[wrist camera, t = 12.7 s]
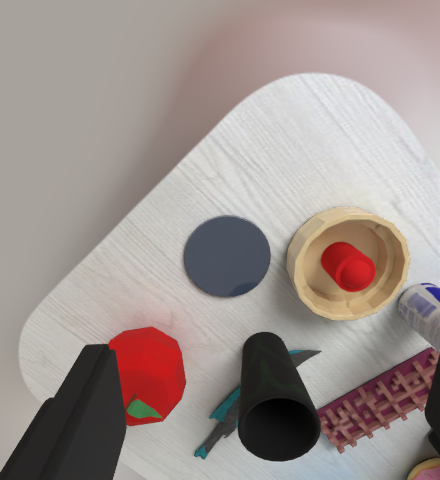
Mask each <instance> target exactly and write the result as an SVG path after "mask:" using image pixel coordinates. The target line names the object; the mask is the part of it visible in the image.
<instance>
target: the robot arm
mask: <svg viewBox="0 0 440 480" xmlns="http://www.w3.org/2000/svg"><path fill="white" fill-rule="evenodd" d="M425 417H426V420H427V422H428V424H429V425H430V427H431V428H432V429H433V431H434V432H435V433H436V435H437V436H438V437H439V439H440V354H439V358H438V362H437V365H436V369H435V373H434V377H433V380H432V384H431V388H430V391H429V395H428V399H427V403H426V406H425ZM126 426H127V422H126V414H125V408H124V401H123V395H122V388H121V382H120V375H119V369H118V362H117V356H116V351H115V350H114V349H110V348H109V346H108V345H107V344H93V345H86V346H85V347H84V348H83V349H82V351H81V353H80V354H79V356H78V358H77V360H76V361H75V363H74V365H73V366H72V368H71V370H70V371H69V373H68V375H67V376H66V378H65V380H64V381H63V383H62V385H61V387H60V388H59V390H58V392H57V393H56V395H55V397H54V398H49V399H47V400H46V401H45V402H44V404H43V405H42V406H41V408H40V409H39V411H38V413H37V414H36V416H35V417H34V419H33V421H32V422H31V424H30V425H29V427H28V429H27V430H26V432H25V433H24V435H23V437H22V439H21V440H20V442H19V443H18V445H17V446H16V448H15V450H14V451H13V453H12V454H11V456H10V458H9V459H8V461H7V462H6V464H5V466H4V467H3V469H2V471H1V472H0V480H113V476H114V473H115V470H116V466H117V462H118V459H119V455H120V452H121V448H122V445H123V441H124V438H125V434H126Z"/></svg>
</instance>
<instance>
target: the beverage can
mask: <svg viewBox="0 0 440 480" xmlns="http://www.w3.org/2000/svg"><path fill="white" fill-rule="evenodd" d="M398 311H399V314H400V316H401V317H402V318H403V319H404V320H405V321H406V322H407V323H408V324H409V325H410V326H411V327H413V328H414V329H415V330H416V331H417V332H418V333H419V334H420V335H421V336H422V337H423V338H424V339H425V340H427V341H428V342H429V343H430V344H431V345H432V346H433V347H434V348H435V349H436V350H437V351H438V352H439V353H440V288H439V287H437V286H436V285H434V284H430V283H421V284H417V285H415V286H413V287H411V288H409V289H408V290H407V291H406V292H405V293H404V294H403V295H402V297H401V298H400V301H399V304H398Z"/></svg>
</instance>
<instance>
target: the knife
mask: <svg viewBox="0 0 440 480" xmlns="http://www.w3.org/2000/svg"><path fill="white" fill-rule="evenodd" d="M320 352H322V351H311V350H295V351H289V354H290V356H291V358H292V361H293V363H294V365H295V367H297V366H299V365H300V364H301V363H303V362H304V361H306V360H307V359H309V358H310V357H312V356H314V355H316V354H318V353H320ZM239 400H240V387H239V388H238V389H237V390H235V391H234V392H233V393H232V394H231V395H230V396H229V397H228V398H227V399H226V400H225V402H224V403H223V404H222V405H221V406H220V407H219V408H218V409H217V410H216V411H215V412H214V413H213V414H212V415H211V416H210V417H209V418H210V419H211V418H216V419H218V420H219V424H218V426H217V428H216V429H215V431H214V432H213V433H212V435H211V437H210V438H209V439H208V440H207V442H206V443H205V444H204V445H203V446H202V447H201V448H200V449H198V450H197V451H196V452H195V454H194V456H195V457H198V456H201V458H202V459H205V458H206V456H207V454H208V453H209V452H210V451H211V449H212V448H213V446H214V445H215V443H216V442H217V441H218V440H219V439H220V438H221V436H222V435H223V434H224V435H225V434H226V436H225V437H224V438H226V437H228V436H229V435H230V434H231V433H232V432H233V431H234V430H235V428H236V427H238V415H239Z"/></svg>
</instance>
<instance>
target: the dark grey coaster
mask: <svg viewBox="0 0 440 480" xmlns="http://www.w3.org/2000/svg"><path fill="white" fill-rule="evenodd" d="M184 261H185V267H186V270H187V272H188V275H189V276H190V278H191V279H192V281H193V282H194V283H195V284H196V285H197V286H198V287H199V288H201V289H202V290H204V291H205V292H207V293H210V294H212V295H216V296H221V297H233V296H238V295H241V294H244V293H246V292H248V291H250V290H252V289H253V288H254V287H256V286H257V285H258V284H259V283H260V282H261V281H262V279H263V278H264V276H265V275H266V273H267V271H268V268H269V264H270V247H269V244H268V241H267V239H266V237H265V235H264V234H263V232H262V231H261V230H260V229H259V228H258V227H257V226H256V225H255V224H254V223H252V222H251V221H249V220H247V219H244V218H241V217H238V216H230V215H225V216H218V217H214V218H211V219H209V220H207V221H205V222H204V223H202V224H201V225H199V226H198V227H197V228H196V229H195V230H194V231H193V233H192V234H191V236H190V237H189V239H188V241H187V244H186V247H185V253H184Z"/></svg>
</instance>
